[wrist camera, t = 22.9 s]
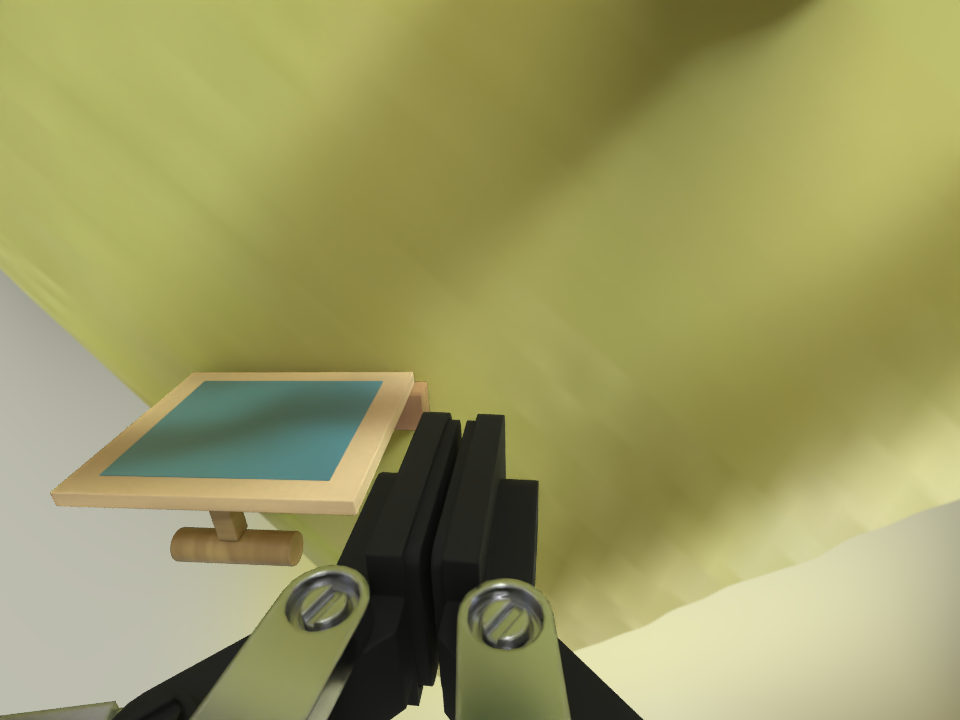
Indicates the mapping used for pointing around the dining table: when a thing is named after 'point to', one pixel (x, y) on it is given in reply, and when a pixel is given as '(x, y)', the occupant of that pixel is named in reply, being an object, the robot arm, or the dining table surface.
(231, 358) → the dining table surface
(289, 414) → the photo frame
